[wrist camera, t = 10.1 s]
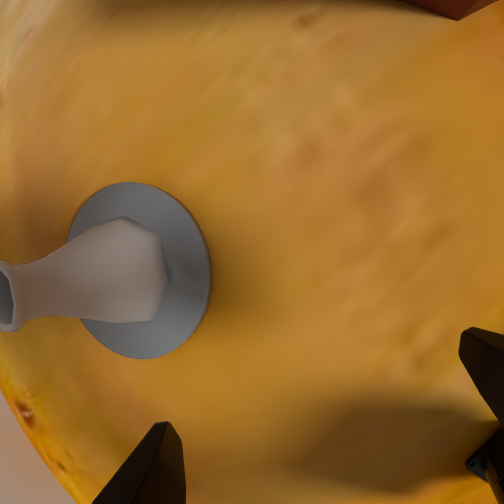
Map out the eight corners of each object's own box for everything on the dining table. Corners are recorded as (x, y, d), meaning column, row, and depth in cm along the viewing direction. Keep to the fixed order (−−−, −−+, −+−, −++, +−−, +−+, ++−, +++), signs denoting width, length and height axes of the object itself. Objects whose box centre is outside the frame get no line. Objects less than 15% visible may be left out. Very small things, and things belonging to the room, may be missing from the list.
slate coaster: (250, 258, 19) (245, 259, 18) (154, 385, 21) (147, 390, 20) (120, 152, 20) (111, 150, 19) (56, 280, 23) (47, 281, 22)
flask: (85, 310, 21) (-24, 345, 11) (89, 212, 20) (-31, 208, 11) (167, 335, 19) (55, 404, 10) (176, 221, 19) (45, 218, 9)
